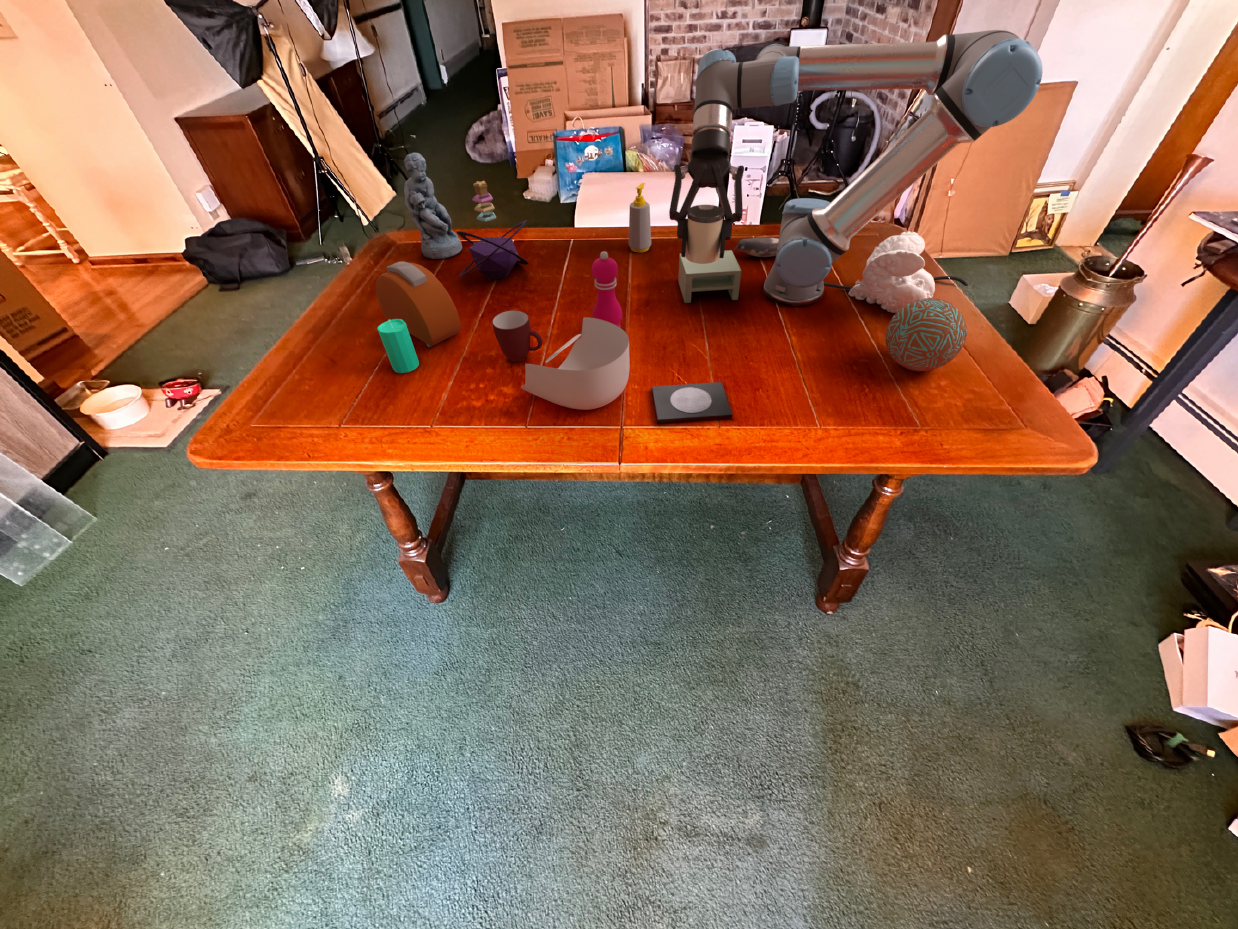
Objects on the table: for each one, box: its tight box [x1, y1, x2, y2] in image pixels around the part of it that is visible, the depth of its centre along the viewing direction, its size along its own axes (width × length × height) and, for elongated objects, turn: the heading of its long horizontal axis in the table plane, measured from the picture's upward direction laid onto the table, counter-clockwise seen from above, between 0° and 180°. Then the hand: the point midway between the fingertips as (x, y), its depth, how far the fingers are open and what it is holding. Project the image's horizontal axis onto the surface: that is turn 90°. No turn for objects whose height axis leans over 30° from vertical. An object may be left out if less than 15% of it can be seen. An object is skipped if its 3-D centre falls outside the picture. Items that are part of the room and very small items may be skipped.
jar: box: [686, 204, 724, 264], centre depth 110 cm, size 7×7×9 cm
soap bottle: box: [628, 182, 652, 253], centre depth 163 cm, size 7×7×18 cm
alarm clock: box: [375, 261, 463, 348], centre depth 134 cm, size 23×9×17 cm, turn 47°
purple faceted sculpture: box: [456, 180, 530, 280], centre depth 152 cm, size 22×21×25 cm
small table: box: [677, 249, 742, 304], centre depth 147 cm, size 14×12×8 cm
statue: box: [403, 152, 463, 260], centre depth 164 cm, size 12×23×27 cm, turn 71°
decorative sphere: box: [885, 297, 968, 372], centre depth 117 cm, size 15×15×15 cm
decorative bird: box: [732, 236, 779, 258], centre depth 161 cm, size 6×25×5 cm, turn 81°
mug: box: [491, 310, 543, 363], centre depth 126 cm, size 10×8×10 cm
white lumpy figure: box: [847, 230, 936, 314], centre depth 138 cm, size 19×20×20 cm
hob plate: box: [651, 381, 733, 425], centre depth 115 cm, size 15×11×1 cm
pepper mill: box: [591, 250, 623, 329], centre depth 130 cm, size 7×7×20 cm
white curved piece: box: [520, 316, 631, 411], centre depth 116 cm, size 20×19×12 cm
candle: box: [376, 319, 420, 374], centre depth 125 cm, size 6×6×12 cm
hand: (702, 254), depth 109 cm, fingers closed on jar, 7 cm apart
